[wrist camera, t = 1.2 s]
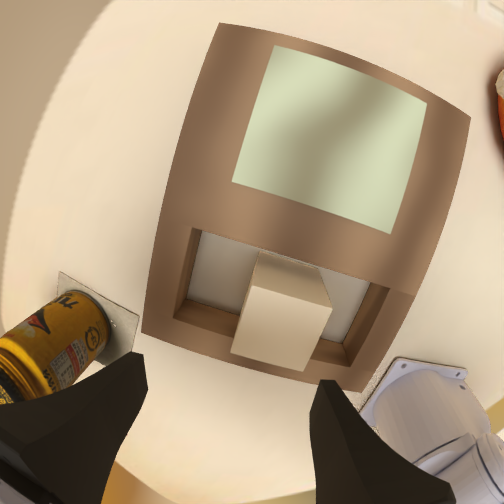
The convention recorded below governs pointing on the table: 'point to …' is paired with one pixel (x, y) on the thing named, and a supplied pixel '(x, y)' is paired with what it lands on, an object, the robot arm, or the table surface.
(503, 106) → the burger
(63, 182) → the table surface
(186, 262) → the board
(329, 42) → the table surface
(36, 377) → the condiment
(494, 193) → the table surface
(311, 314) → the cream block
